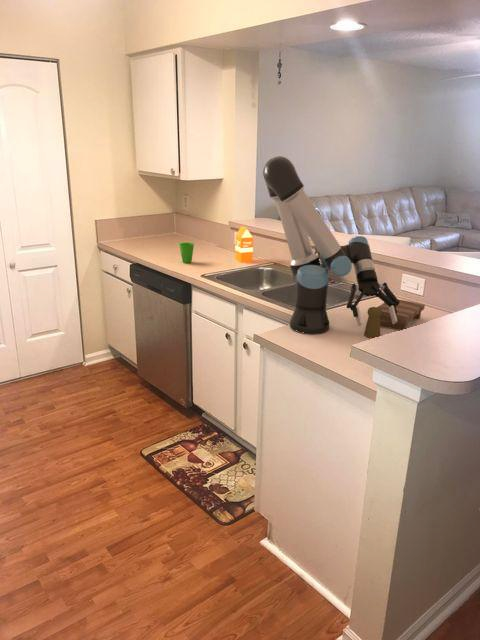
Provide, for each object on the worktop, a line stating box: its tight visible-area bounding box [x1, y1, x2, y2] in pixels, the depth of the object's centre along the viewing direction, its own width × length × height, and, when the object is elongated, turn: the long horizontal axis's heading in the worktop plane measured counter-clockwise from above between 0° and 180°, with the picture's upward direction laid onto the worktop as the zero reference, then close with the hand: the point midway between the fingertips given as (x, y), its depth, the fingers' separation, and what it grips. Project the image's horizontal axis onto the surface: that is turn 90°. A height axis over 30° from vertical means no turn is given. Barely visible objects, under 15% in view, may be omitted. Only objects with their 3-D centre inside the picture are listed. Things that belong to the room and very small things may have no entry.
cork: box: [363, 306, 382, 339], centre depth 190 cm, size 6×6×11 cm
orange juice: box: [235, 225, 254, 264], centre depth 304 cm, size 8×9×20 cm
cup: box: [178, 242, 195, 264], centre depth 299 cm, size 9×9×11 cm
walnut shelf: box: [377, 298, 426, 331], centre depth 207 cm, size 20×14×6 cm
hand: (377, 323), depth 190 cm, fingers open, 13 cm apart
